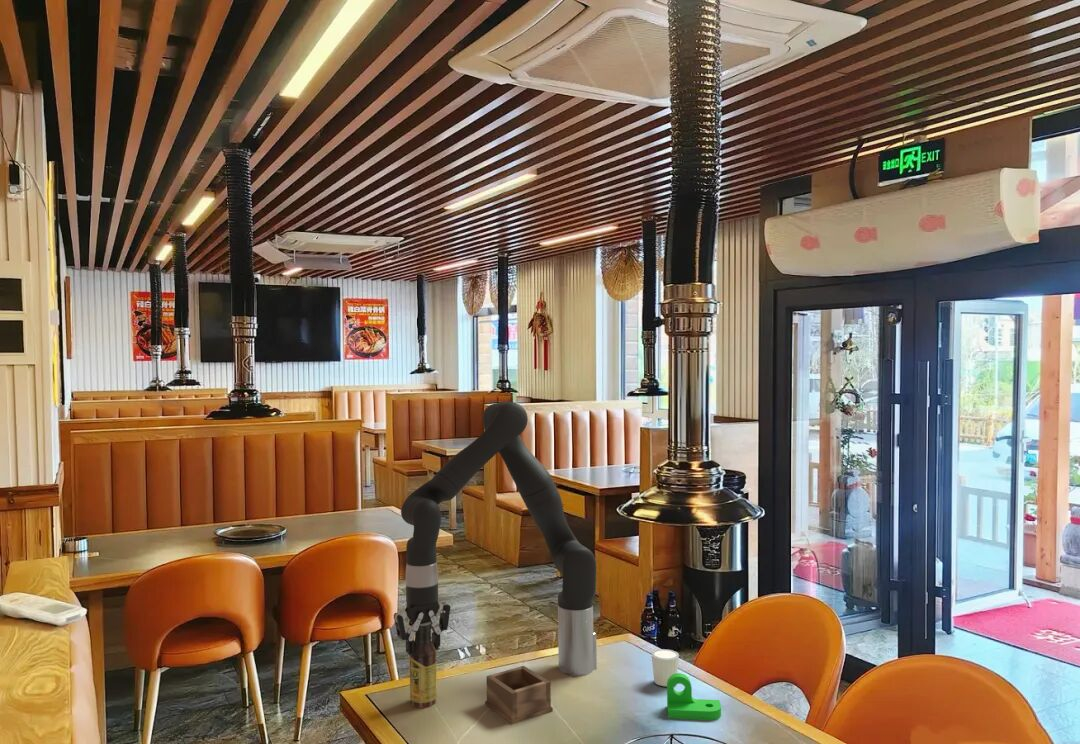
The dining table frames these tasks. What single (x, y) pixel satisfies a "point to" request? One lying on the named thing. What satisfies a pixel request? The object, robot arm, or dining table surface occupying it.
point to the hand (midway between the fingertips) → (423, 651)
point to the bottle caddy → (518, 694)
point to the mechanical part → (689, 702)
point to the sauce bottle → (423, 669)
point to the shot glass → (664, 665)
